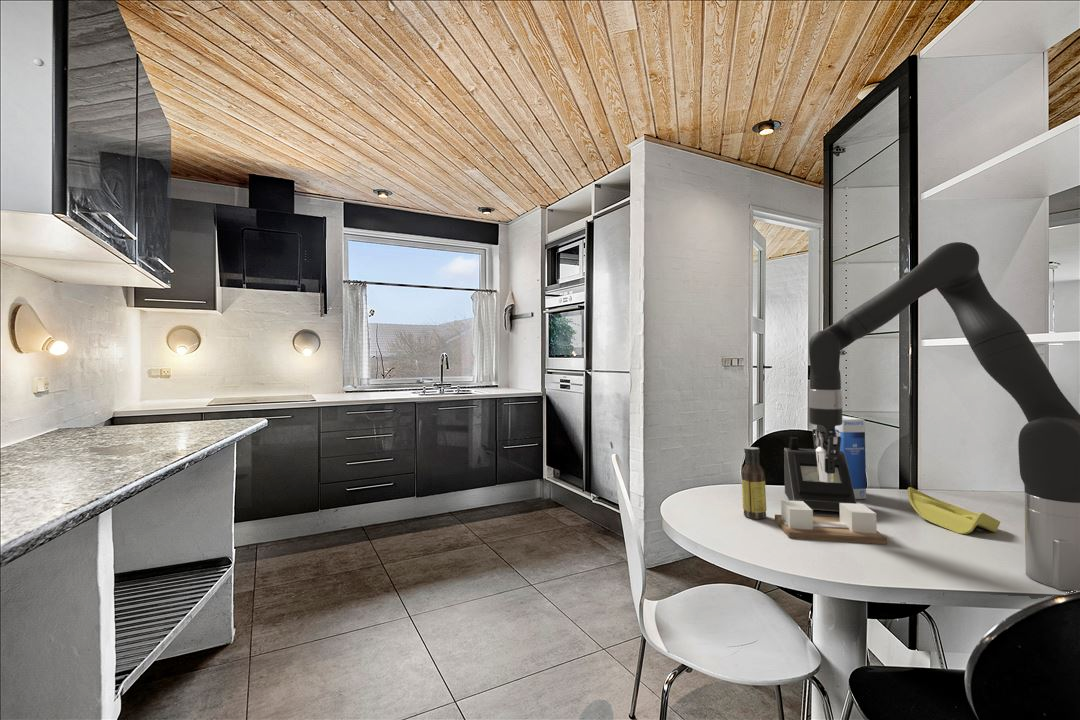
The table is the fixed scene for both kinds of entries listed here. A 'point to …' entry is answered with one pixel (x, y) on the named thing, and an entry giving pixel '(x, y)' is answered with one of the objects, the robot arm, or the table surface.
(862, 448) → the string lights box
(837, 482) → the voltmeter
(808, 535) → the rail board
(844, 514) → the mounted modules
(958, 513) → the plastic component
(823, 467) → the milkshake
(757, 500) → the sauce bottle
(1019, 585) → the table surface
